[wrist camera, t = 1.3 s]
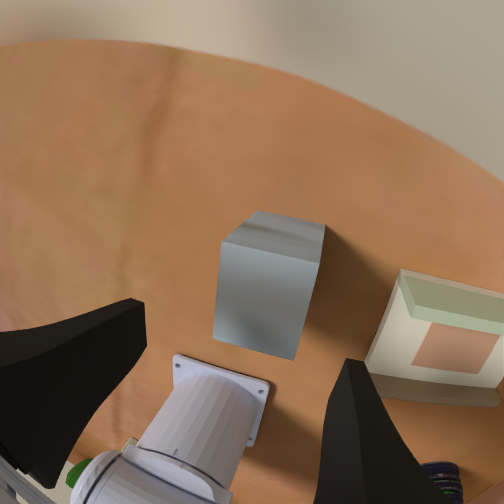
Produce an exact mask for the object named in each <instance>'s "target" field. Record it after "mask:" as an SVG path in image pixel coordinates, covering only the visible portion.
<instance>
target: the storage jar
mask: <svg viewBox="0 0 504 504" xmlns="http://www.w3.org/2000/svg"><path fill="white" fill-rule="evenodd" d="M420 465H421V467H422V468H423V469H424V470H425V472H426V473H427V474H428V475H429V476H430V478H431V479H432V480H433V481H434V482H435V483H436V484H437V485H438V487H439V488H440V489H441V490H442V491H443V492H444V493H445V494H446V495H447V496H448V497H449V498H450V499H451V500H452V501H453V502H455V503H456V504H463V497H462V496H463V490H462V485H461V482H460V478H459V477H458V476H459V469H458V467H457V465H455V464H454V463H451V462H430V463H425V464H420Z"/></svg>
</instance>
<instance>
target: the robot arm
mask: <svg viewBox="0 0 504 504" xmlns="http://www.w3.org/2000/svg"><path fill="white" fill-rule="evenodd" d="M146 347H147V339H146V324H145V307H144V302H141V301H138V300H135V299H132V298H129V299H125V300H122V301H119V302H116V303H113V304H110V305H107V306H105V307H102V308H99V309H96V310H93V311H91V312H88V313H85V314H82V315H79V316H76V317H73V318H69V319H66V320H63V321H60V322H57V323H53V324H49V325H45V326H40V327H35V328H30V329H24V330H16V331H8V332H0V504H20V503H19V502H18V501H17V500H16V492H17V493H18V494H19V495H20V496H21V497H22V498H23V499H25V500H26V501H27V502H28V503H29V504H56V503H55V502H53V501H52V500H50V498H48V497H47V496H46V495H44V494H43V493H42V492H41V491H39V490H38V489H37V488H36V487H34V486H33V485H32V484H31V483H30V482H29V481H27V480H26V479H25V478H24V477H23V476H22V475H20V474H19V473H18V472H17V471H16V470H17V469H19V470H20V471H21V472H23V473H24V474H25V475H26V474H28V475H30V476H31V477H32V478H33V479H34V480H36V481H37V482H38V483H39V484H41V485H42V486H43V487H44V488H46V489H52V488H55V485H56V483H57V480H58V478H59V476H60V473H61V471H62V469H63V467H64V464H65V462H66V460H67V458H68V456H69V455H70V453H71V451H72V449H73V447H74V445H75V443H76V442H77V440H78V438H79V437H80V435H81V433H82V431H83V430H84V428H85V427H86V425H87V424H88V422H89V421H90V419H91V418H92V416H93V415H94V413H95V412H96V410H97V409H98V408H99V406H100V405H101V404H102V403H103V402H104V400H105V399H106V398H107V397H108V396H109V395H110V394H111V392H112V391H113V390H114V389H115V388H116V387H117V386H118V384H119V383H120V382H121V381H122V380H123V379H124V378H125V376H126V375H127V374H128V373H129V372H130V371H131V369H132V368H133V367H134V366H135V364H136V363H137V361H138V360H139V358H140V357H141V355H142V353H143V352H144V350H145V348H146ZM179 364H180V365H179ZM173 382H174V390H173V391H172V393H171V394H170V396H169V397H168V399H167V400H166V402H165V403H164V404H163V406H162V407H161V409H160V410H159V412H158V413H157V415H156V416H155V418H154V419H153V421H152V422H151V424H150V425H149V426H148V428H147V429H146V431H145V432H144V434H143V435H142V437H141V438H140V440H139V441H138V442H137V444H136V445H135V446H134V445H132V444H129V445H128V446H127V448H126V449H125V450H124V452H123V453H122V452H120V451H118V450H116V449H113V450H110V451H106V452H102V453H100V454H99V455H98V456H96V457H95V458H94V459H93V460H92V461H91V462H90V463H89V465H88V466H87V467H86V468H85V470H84V471H83V473H82V474H81V476H80V477H79V479H78V481H77V482H76V484H75V486H74V488H73V491H72V494H71V498H70V504H229V503H230V501H231V498H232V496H233V493H232V492H230V491H228V490H229V488H230V485H231V483H232V480H233V478H234V475H235V473H236V470H237V468H238V465H239V463H240V460H241V457H242V455H243V452H244V449H245V447H246V446H249V447H251V446H253V445H254V443H255V439H256V436H257V432H258V429H259V425H260V422H261V418H262V414H263V411H264V407H265V404H266V400H267V396H268V392H269V389H270V384H269V383H268V382H266V381H264V380H260V379H256V378H253V377H249V376H246V375H242V374H239V373H235V372H232V371H228V370H225V369H222V368H219V367H216V366H212V365H209V364H206V363H203V362H200V361H197V360H194V359H191V358H188V357H185V356H183V355H180V354H176V355H175V356H174V357H173ZM261 390H263V391H261ZM14 490H15V491H16V492H15V491H14ZM313 504H456V503H455V502H453V501H452V500H451V499H450V498H449V497H448V496H447V495H446V494H445V493H444V492H443V491H442V490H441V489H440V488H439V487H438V485H437V484H436V483H435V482H434V481H433V480H432V479H431V478H430V476H429V475H428V474H427V473H426V472H425V470H424V469H423V468H422V467H421V465H420V464H419V463H418V462H417V460H416V459H415V458H414V456H413V455H412V453H411V452H410V450H409V449H408V447H407V446H406V444H405V443H404V441H403V440H402V438H401V436H400V435H399V433H398V431H397V429H396V428H395V426H394V424H393V422H392V420H391V419H390V417H389V415H388V413H387V411H386V409H385V407H384V405H383V403H382V401H381V398H380V396H379V394H378V392H377V390H376V388H375V385H374V383H373V381H372V379H371V376H370V374H369V372H368V369H367V367H366V365H365V363H364V361H359V360H354V359H349V358H346V360H345V362H344V365H343V367H342V369H341V372H340V374H339V376H338V379H337V381H336V383H335V386H334V388H333V390H332V392H331V395H330V397H329V399H328V404H327V409H326V414H325V420H324V425H323V437H322V449H321V460H320V470H319V479H318V485H317V491H316V495H315V499H314V503H313Z"/></svg>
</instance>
